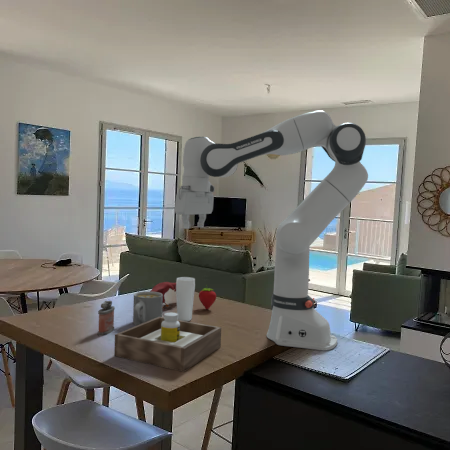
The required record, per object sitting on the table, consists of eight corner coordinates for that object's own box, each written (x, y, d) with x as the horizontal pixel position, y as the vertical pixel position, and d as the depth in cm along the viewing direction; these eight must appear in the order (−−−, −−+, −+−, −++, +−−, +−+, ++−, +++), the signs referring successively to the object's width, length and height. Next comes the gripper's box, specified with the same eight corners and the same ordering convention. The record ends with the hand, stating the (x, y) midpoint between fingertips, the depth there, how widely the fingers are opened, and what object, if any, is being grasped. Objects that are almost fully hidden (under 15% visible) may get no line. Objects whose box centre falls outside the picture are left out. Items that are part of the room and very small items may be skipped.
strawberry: (211, 312, 176) (212, 286, 175) (194, 309, 179) (195, 284, 179) (218, 309, 181) (219, 284, 180) (203, 306, 184) (203, 282, 184)
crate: (220, 347, 136) (221, 327, 135) (183, 371, 116) (184, 348, 115) (158, 335, 145) (159, 316, 144) (114, 355, 125) (114, 334, 124)
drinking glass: (192, 322, 160) (194, 280, 159) (173, 321, 160) (175, 279, 159) (194, 317, 167) (195, 277, 166) (176, 316, 167) (177, 276, 166)
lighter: (107, 327, 150) (107, 298, 150) (116, 328, 150) (117, 299, 149) (95, 335, 142) (95, 303, 142) (105, 336, 142) (105, 304, 141)
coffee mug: (145, 317, 165) (146, 290, 164) (167, 322, 160) (168, 294, 159) (119, 325, 153) (120, 296, 153) (142, 331, 148) (143, 300, 148)
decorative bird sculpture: (134, 326, 168) (158, 300, 163) (120, 307, 170) (143, 281, 165) (175, 310, 193) (196, 287, 188) (162, 293, 196) (183, 270, 191)
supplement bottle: (179, 350, 128) (181, 316, 127) (160, 351, 127) (161, 316, 127) (178, 344, 133) (179, 311, 133) (159, 344, 132) (161, 311, 132)
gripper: (188, 185, 140) (186, 230, 141) (217, 187, 158) (215, 227, 159) (170, 184, 142) (169, 228, 143) (201, 187, 161) (199, 226, 162)
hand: (193, 227), depth 151 cm, fingers open, 8 cm apart
